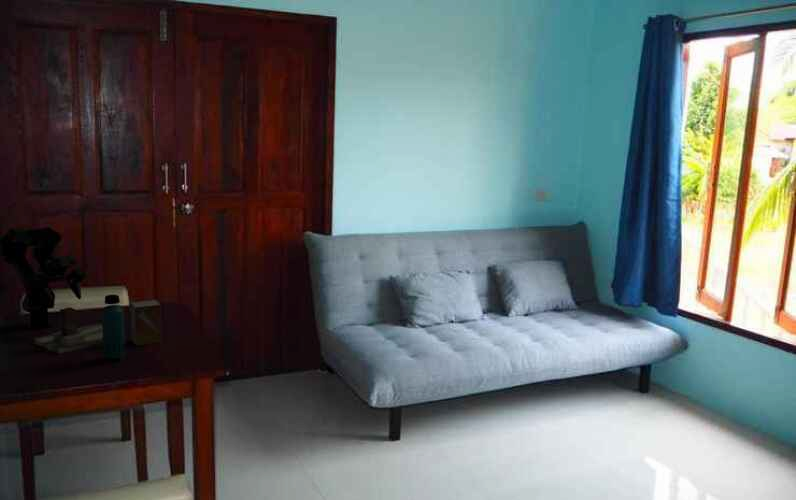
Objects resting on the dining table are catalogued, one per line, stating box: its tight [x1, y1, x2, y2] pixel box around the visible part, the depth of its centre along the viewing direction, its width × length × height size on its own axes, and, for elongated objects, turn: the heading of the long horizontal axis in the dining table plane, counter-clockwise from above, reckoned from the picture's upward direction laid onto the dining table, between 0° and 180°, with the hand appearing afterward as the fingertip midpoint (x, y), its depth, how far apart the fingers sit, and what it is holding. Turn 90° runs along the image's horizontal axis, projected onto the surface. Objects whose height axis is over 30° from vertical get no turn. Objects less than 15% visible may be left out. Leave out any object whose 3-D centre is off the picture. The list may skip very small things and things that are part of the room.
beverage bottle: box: [100, 294, 127, 359], centre depth 208 cm, size 6×7×20 cm
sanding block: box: [52, 307, 86, 347], centre depth 218 cm, size 8×6×11 cm
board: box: [33, 323, 103, 355], centre depth 226 cm, size 15×22×2 cm
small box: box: [130, 299, 162, 347], centre depth 226 cm, size 8×6×13 cm
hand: (67, 300), depth 223 cm, fingers open, 9 cm apart
